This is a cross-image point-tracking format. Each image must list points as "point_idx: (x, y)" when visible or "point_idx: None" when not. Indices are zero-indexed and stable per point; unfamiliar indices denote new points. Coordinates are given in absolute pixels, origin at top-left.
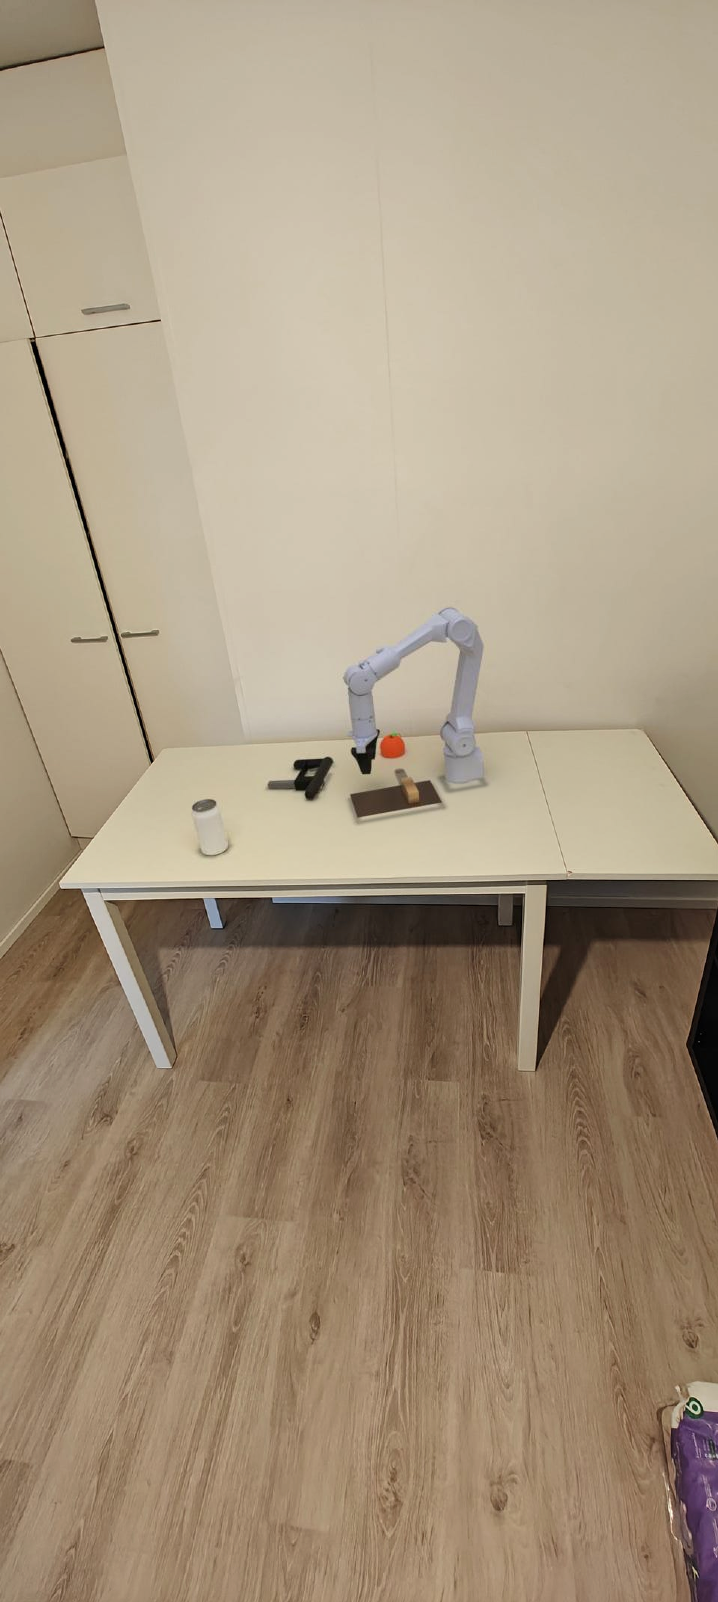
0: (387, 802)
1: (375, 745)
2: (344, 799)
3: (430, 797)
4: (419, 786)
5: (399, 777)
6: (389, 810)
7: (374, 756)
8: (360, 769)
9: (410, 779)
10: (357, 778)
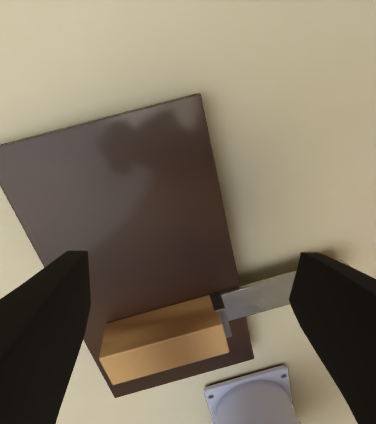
0: (117, 257)
1: (357, 418)
2: (197, 63)
3: None
4: None
5: (287, 282)
6: None
7: (299, 318)
8: (40, 272)
9: (208, 353)
10: (364, 109)
